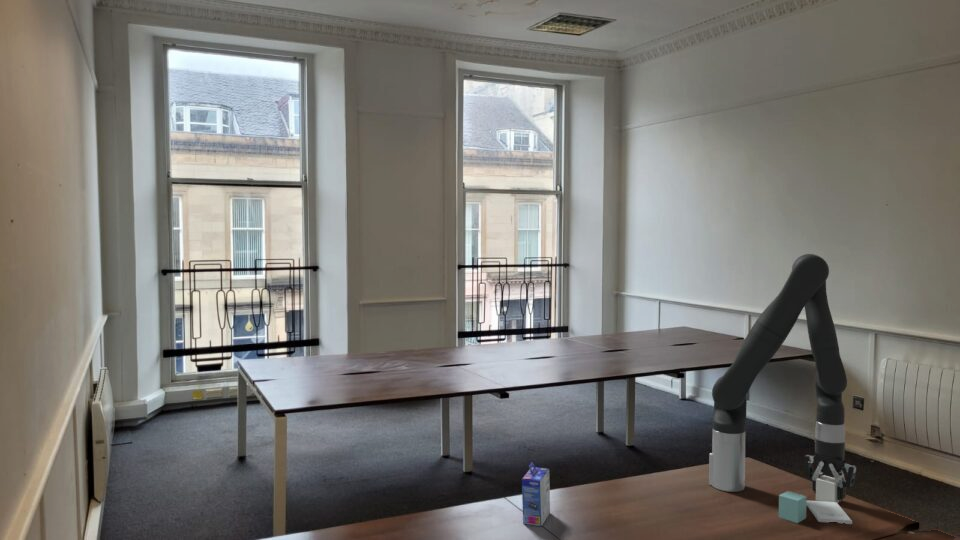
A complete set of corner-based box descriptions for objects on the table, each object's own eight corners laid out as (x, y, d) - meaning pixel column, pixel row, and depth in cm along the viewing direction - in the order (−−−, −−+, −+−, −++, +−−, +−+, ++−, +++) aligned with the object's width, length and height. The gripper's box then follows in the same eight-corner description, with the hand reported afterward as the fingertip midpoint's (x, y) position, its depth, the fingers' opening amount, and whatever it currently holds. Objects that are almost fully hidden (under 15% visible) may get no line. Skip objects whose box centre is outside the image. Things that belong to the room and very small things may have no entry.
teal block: (778, 517, 180) (778, 495, 180) (787, 512, 183) (787, 490, 183) (797, 523, 176) (797, 500, 176) (806, 518, 180) (806, 496, 179)
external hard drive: (837, 508, 188) (852, 526, 176) (805, 505, 190) (818, 523, 177) (837, 502, 188) (852, 520, 176) (805, 500, 190) (818, 517, 177)
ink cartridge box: (530, 510, 185) (530, 457, 185) (550, 512, 184) (550, 459, 183) (521, 524, 176) (521, 469, 176) (541, 527, 174) (542, 471, 174)
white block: (815, 499, 192) (816, 479, 192) (823, 495, 196) (823, 475, 195) (834, 505, 189) (834, 483, 188) (841, 500, 192) (842, 479, 192)
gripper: (798, 434, 194) (797, 492, 195) (851, 446, 183) (850, 507, 184) (809, 430, 199) (808, 486, 200) (862, 441, 188) (861, 500, 189)
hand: (828, 496), depth 192 cm, fingers open, 5 cm apart
